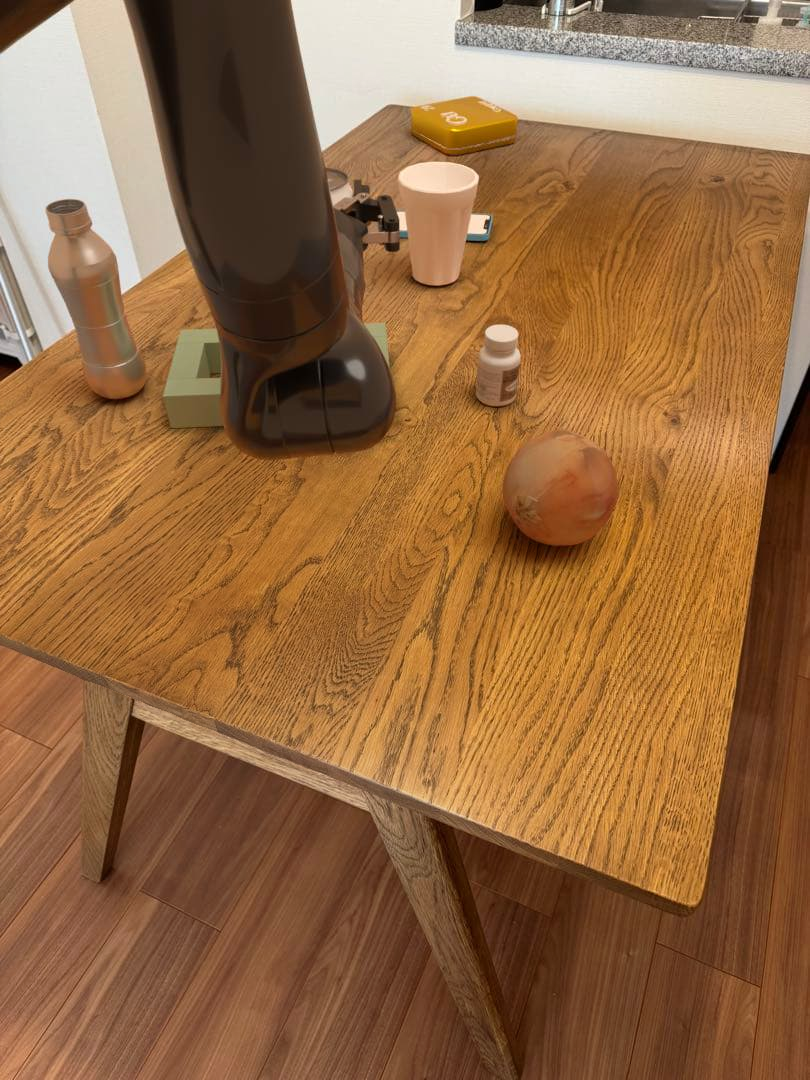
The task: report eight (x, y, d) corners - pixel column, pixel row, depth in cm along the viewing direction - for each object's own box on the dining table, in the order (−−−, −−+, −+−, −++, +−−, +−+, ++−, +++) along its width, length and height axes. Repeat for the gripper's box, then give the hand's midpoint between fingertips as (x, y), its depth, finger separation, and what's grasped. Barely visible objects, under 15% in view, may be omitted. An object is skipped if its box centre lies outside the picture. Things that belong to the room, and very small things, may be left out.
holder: (392, 419, 82) (391, 387, 79) (170, 428, 81) (162, 396, 78) (386, 353, 91) (385, 322, 88) (187, 360, 90) (180, 329, 87)
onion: (477, 540, 69) (485, 452, 62) (529, 480, 75) (541, 392, 68) (577, 586, 65) (598, 497, 58) (624, 518, 71) (648, 429, 64)
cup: (388, 288, 102) (386, 186, 93) (410, 256, 109) (411, 157, 100) (462, 299, 100) (468, 196, 91) (480, 265, 107) (487, 166, 98)
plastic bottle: (134, 366, 89) (83, 186, 75) (162, 392, 86) (114, 208, 71) (80, 387, 86) (16, 204, 72) (107, 414, 83) (45, 228, 68)
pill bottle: (510, 411, 83) (518, 347, 77) (470, 403, 84) (475, 339, 78) (520, 389, 86) (527, 325, 80) (481, 381, 87) (486, 318, 81)
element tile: (520, 142, 141) (523, 113, 138) (450, 158, 136) (451, 128, 132) (474, 119, 150) (475, 91, 147) (406, 132, 145) (406, 104, 142)
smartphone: (394, 210, 118) (493, 214, 116) (394, 217, 119) (492, 221, 117) (384, 231, 113) (488, 235, 111) (385, 238, 114) (488, 243, 112)
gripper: (409, 223, 57) (397, 145, 69) (210, 228, 56) (232, 149, 68) (409, 317, 62) (398, 230, 74) (227, 323, 61) (245, 234, 73)
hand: (318, 191), depth 71 cm, fingers closed on can, 6 cm apart
